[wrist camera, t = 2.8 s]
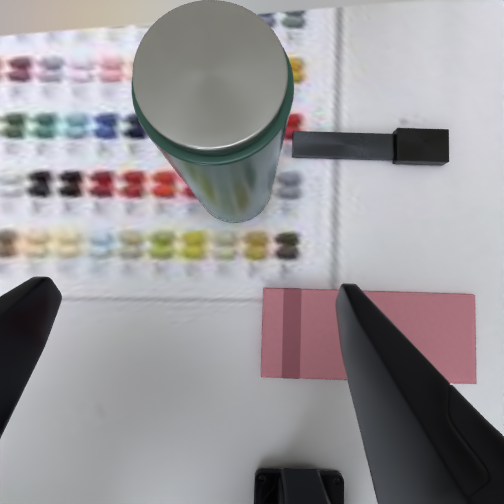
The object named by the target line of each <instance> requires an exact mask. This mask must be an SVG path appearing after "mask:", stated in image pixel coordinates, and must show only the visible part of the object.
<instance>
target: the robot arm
mask: <svg viewBox="0 0 504 504" xmlns="http://www.w3.org/2000/svg"><path fill="white" fill-rule="evenodd" d="M61 300H62V295H61V293H60V291H59V290H58V288H57V287H56V285H55V284H54V282H53V281H52V279H51V278H49V277H33V278H31V279H29V280H27V281H26V282H24V283H22V284H21V285H19V286H17V287H16V288H14V289H12V290H11V291H9V292H7V293H6V294H4V295H2V296H1V297H0V438H1V436H2V434H3V432H4V430H5V428H6V426H7V424H8V422H9V419H10V417H11V415H12V413H13V411H14V409H15V407H16V405H17V403H18V401H19V399H20V397H21V395H22V393H23V391H24V389H25V387H26V384H27V382H28V380H29V378H30V376H31V374H32V372H33V370H34V368H35V366H36V364H37V362H38V360H39V358H40V356H41V354H42V351H43V349H44V347H45V345H46V342H47V340H48V337H49V334H50V331H51V329H52V326H53V323H54V320H55V318H56V315H57V312H58V309H59V306H60V304H61ZM335 308H336V316H337V324H338V332H339V340H340V348H341V354H342V359H343V363H344V367H345V371H346V375H347V379H348V383H349V388H350V392H351V396H352V400H353V404H354V408H355V412H356V416H357V420H358V424H359V428H360V432H361V437H362V441H363V445H364V449H365V453H366V457H367V461H368V465H369V469H370V473H371V477H372V481H373V486H374V490H375V494H376V498H377V502H378V504H504V436H503V435H502V434H501V433H500V432H499V431H498V430H497V429H496V428H494V427H493V426H492V425H491V424H490V423H489V422H488V421H487V420H486V419H485V418H484V417H483V416H482V415H481V414H480V413H479V412H478V411H477V410H476V409H475V408H474V407H473V406H472V405H471V404H470V403H469V402H468V401H467V400H466V399H465V398H464V397H463V396H462V395H461V394H460V393H459V392H458V390H457V389H456V388H455V387H454V386H453V385H450V383H449V381H448V380H447V379H446V378H445V377H444V376H443V375H442V374H441V373H440V372H439V371H438V370H437V369H436V368H435V367H434V365H433V364H432V363H431V362H430V361H429V360H428V359H427V358H426V357H425V356H424V355H423V354H422V353H421V352H420V351H419V350H418V349H417V348H416V347H415V346H414V345H413V343H412V342H411V341H410V340H409V339H408V338H407V337H406V336H405V335H404V334H403V333H402V332H401V331H400V330H399V329H398V328H397V327H396V326H395V325H394V324H393V323H392V321H391V320H390V319H389V318H388V317H387V316H386V315H385V314H384V313H383V312H382V311H381V310H380V309H379V308H378V307H377V306H376V305H375V304H374V303H373V302H372V300H371V299H370V298H369V297H368V296H367V295H366V294H365V293H364V292H363V291H362V290H361V289H360V288H359V287H358V286H357V285H356V284H342V285H341V286H340V289H339V292H338V295H337V298H336V303H335ZM260 476H264V478H263V479H260V478H259V477H260ZM336 478H338V479H339V480H338V481H336V482H335V481H334V480H335V479H336ZM254 504H344V479H343V477H342V475H341V473H340V472H338V471H325V470H316V469H292V468H284V469H265V468H261V469H258V470H257V471H256V472H255V485H254Z"/></svg>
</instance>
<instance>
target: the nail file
mask: <svg viewBox="0 0 504 504" xmlns="http://www.w3.org/2000/svg"><path fill="white" fill-rule="evenodd" d="M292 157H296V158H330V159H364V160H393V164H413V165H444V164H446V163H448V162H449V130H448V129H415V128H397V129H396V130H395V131H394V132H393V134H375V133H341V132H306V131H293V142H292Z"/></svg>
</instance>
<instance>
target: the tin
mask: <svg viewBox="0 0 504 504" xmlns="http://www.w3.org/2000/svg"><path fill="white" fill-rule="evenodd" d="M293 95H294V78H293V72H292V68H291V65H290V62H289V59H288V56H287V54H286V52H285V50H284V48H283V47H282V45H281V43H280V41H279V39H278V37H277V36H276V34H275V33H274V31H273V30H272V29H271V28H270V27H269V25H268V24H267V23H266V22H265V21H264V20H263V19H261V18H260V17H259V16H258V15H256V14H255V13H253V12H252V11H250V10H248V9H246V8H244V7H242V6H239V5H237V4H233V3H230V2H225V1H217V0H203V1H197V2H192V3H188V4H185V5H182V6H180V7H178V8H175V9H173V10H171V11H170V12H168V13H166V14H165V15H164V16H162V17H161V18H160V19H158V20H157V21H156V22H155V23H154V24H153V25H152V26H151V27H150V29H149V30H148V31H147V33H146V34H145V35H144V37H143V39H142V41H141V42H140V44H139V47H138V49H137V52H136V55H135V59H134V64H133V77H132V99H133V105H134V109H135V112H136V115H137V117H138V120H139V122H140V124H141V126H142V127H143V129H144V131H145V132H146V134H147V135H148V136H149V137H150V139H151V140H152V141H153V143H154V144H155V145H156V146H157V148H158V149H159V150H160V151H161V153H162V154H163V155H164V156H165V158H166V159H167V160H168V162H169V163H170V164H171V165H172V167H173V168H174V169H175V170H176V172H177V173H178V174H179V176H180V177H181V178H182V179H183V181H184V182H185V183H186V184H187V186H188V187H189V188H190V189H191V191H192V192H193V193H194V195H195V196H196V197H197V198H198V200H199V201H200V202H201V203H202V205H203V206H204V207H205V209H206V210H207V211H208V212H209V213H210V214H211V215H213V216H214V217H216V218H217V219H219V220H222V221H225V222H231V223H239V222H244V221H247V220H250V219H252V218H253V217H255V216H257V215H258V214H259V213H260V212H261V211H262V210H263V209H264V207H265V206H266V204H267V202H268V200H269V198H270V194H271V190H272V185H273V181H274V177H275V173H276V169H277V165H278V160H279V156H280V152H281V148H282V144H283V140H284V136H285V131H286V127H287V123H288V119H289V115H290V111H291V106H292V102H293Z"/></svg>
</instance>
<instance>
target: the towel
mask: <svg viewBox="0 0 504 504" xmlns="http://www.w3.org/2000/svg"><path fill="white" fill-rule="evenodd" d="M338 292H339V290H322V289H298V288H263V319H262V354H261V377H276V378H295V379H300V378H307V379H338V380H348V379H347V375H346V371H345V367H344V363H343V359H342V354H341V348H340V340H339V332H338V324H337V316H336V308H335V303H336V298H337V295H338ZM363 292H364V293H365V294H366V295H367V296H368V297H369V298H370V299H371V300H372V302H373V303H374V304H375V305H376V306H377V307H378V308H379V309H380V310H381V311H382V312H383V313H384V314H385V315H386V316H387V317H388V318H389V319H390V320H391V321H392V323H393V324H394V325H395V326H396V327H397V328H398V329H399V330H400V331H401V332H402V333H403V334H404V335H405V336H406V337H407V338H408V339H409V340H410V341H411V342H412V343H413V345H414V346H415V347H416V348H417V349H418V350H419V351H420V352H421V353H422V354H423V355H424V356H425V357H426V358H427V359H428V360H429V361H430V362H431V363H432V364H433V365H434V367H435V368H436V369H437V370H438V371H439V372H440V373H441V374H442V375H443V376H444V377H445V378H446V379H447V380H448V381H449V383H461V384H476V325H475V295H473V294H451V293H419V292H386V291H363Z"/></svg>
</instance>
